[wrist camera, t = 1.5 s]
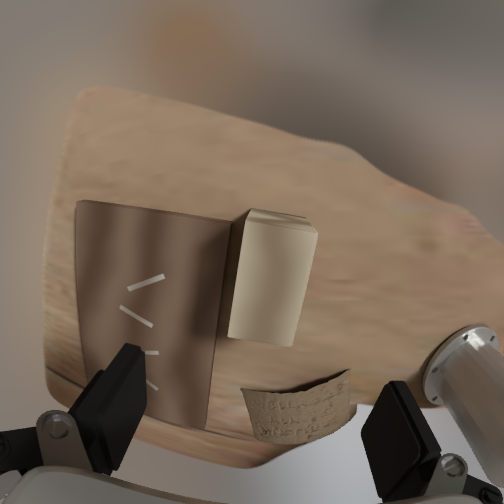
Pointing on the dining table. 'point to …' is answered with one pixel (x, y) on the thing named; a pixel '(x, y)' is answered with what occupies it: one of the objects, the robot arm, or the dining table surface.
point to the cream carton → (271, 277)
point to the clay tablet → (300, 412)
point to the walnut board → (153, 299)
